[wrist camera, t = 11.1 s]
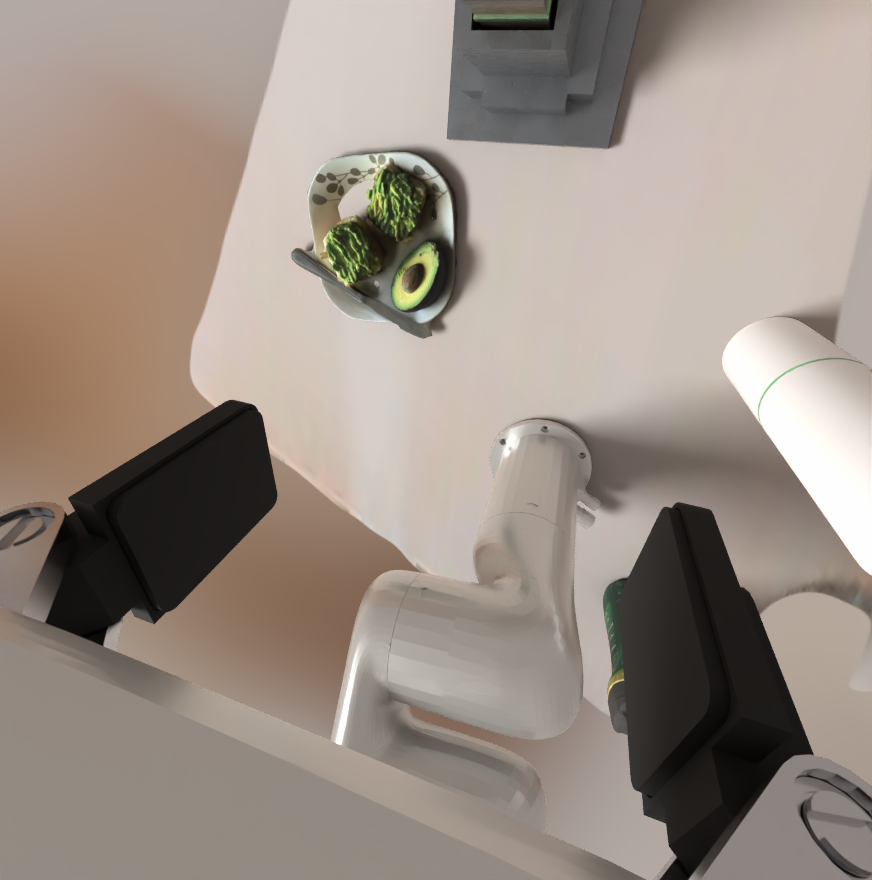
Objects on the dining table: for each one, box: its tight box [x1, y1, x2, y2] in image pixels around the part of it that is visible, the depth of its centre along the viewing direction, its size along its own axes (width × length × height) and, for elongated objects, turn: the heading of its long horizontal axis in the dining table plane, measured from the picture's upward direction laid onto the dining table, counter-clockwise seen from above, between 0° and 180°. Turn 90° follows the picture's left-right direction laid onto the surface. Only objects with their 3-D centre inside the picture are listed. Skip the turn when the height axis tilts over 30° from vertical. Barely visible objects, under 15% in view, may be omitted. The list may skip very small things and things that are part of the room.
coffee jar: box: [603, 580, 628, 735], centre depth 52 cm, size 10×8×19 cm
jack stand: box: [447, 0, 643, 149], centre depth 28 cm, size 14×14×13 cm
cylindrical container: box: [722, 317, 872, 575], centre depth 29 cm, size 7×7×25 cm
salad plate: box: [291, 151, 457, 338], centre depth 44 cm, size 19×18×5 cm
